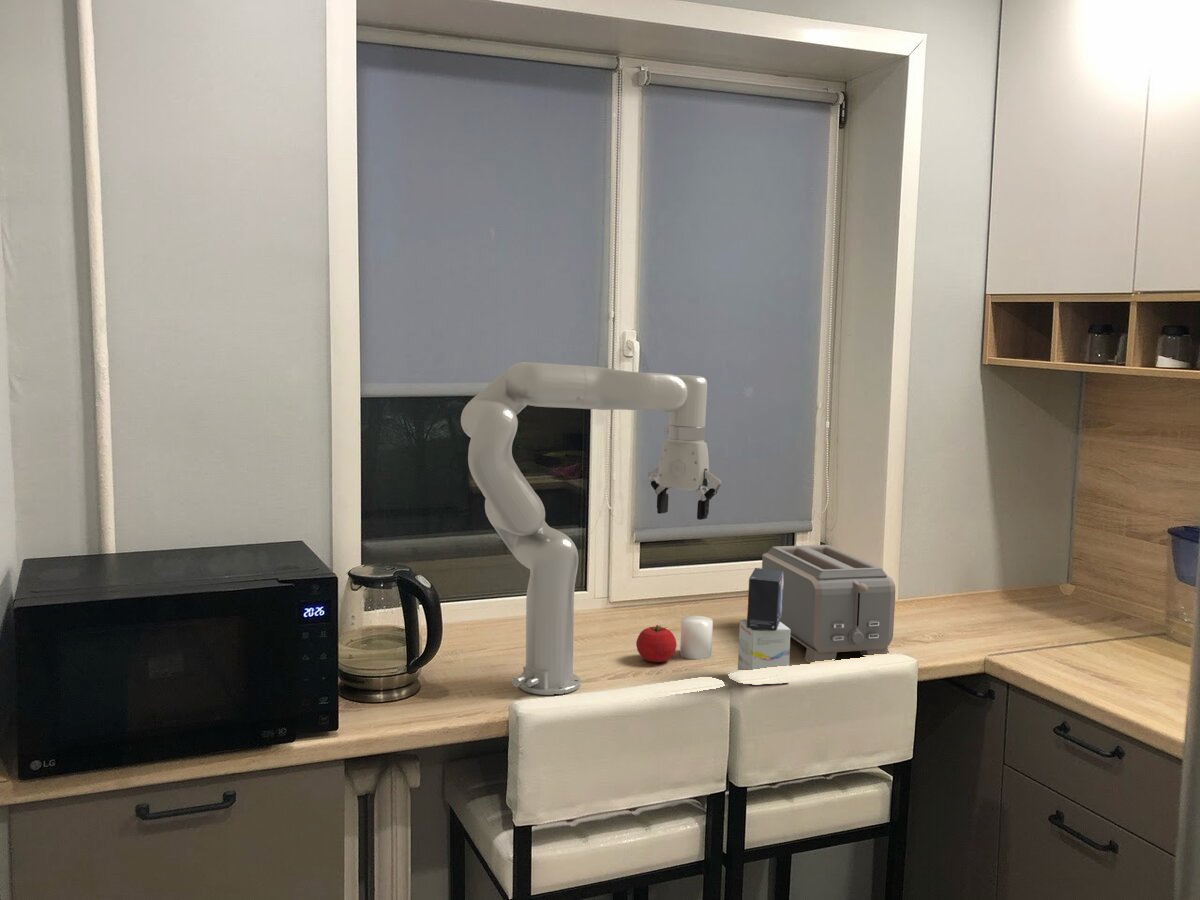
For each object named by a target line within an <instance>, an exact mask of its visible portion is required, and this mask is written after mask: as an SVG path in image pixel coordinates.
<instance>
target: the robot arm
mask: <svg viewBox="0 0 1200 900" xmlns="http://www.w3.org/2000/svg"><path fill="white" fill-rule="evenodd" d="M707 397H708V381H707V379H706V378H705V377H704V376H701V375H689V374H688V375H687V374H681V375H680V374H678V375H675V374H672V373H661V372H640V371H639V372H638V371H637V372H636V371H629V370H628V371H626V370H619V369H615V368H609V367H603V366H596V365H595V366H592V365H576V364H575V365H574V364H561V363H545V362H529V361H521V362H517V363H515V364H513V365H512V366H510V367H509V368H507V369H506V370H505V371H504V372H502V373H501V374H500V375H498V377H497V378H495V380H493V381H492V382H491V383H490V384H488V385H487V386H486V387H484V388H483V389H482V390H481V391H480V392H479V393H478V394H477V395H475V396H474V397H472V399H470V401H468V402H467V404H466V405H465V406H464V407H463V409H462V412H461V416H460V425H461V428H462V430H463V432H464V433H465V434H466V436H468V437H469V438H470V440H469V444H468V453H467V455H468V456H467V462H468V463H467V464H468V468H469V472H470V474H471V477H472V478H473V481H474V482H475V484H476V486H477V488H478V489H479V490H480V492H481V494H482V495H483V496H484V498H485V500H484V509H485V510H484V511H485V515H486V518H488V521H489V523H490V524H491V526H492V527H493V528H494V530H495V532H496V533H497V534H498V535H499V537H500V538H501V540H502V541H503V543H504V544H505V546H506V547H507V548H508V550H509V551H510V552H511V554H512V555H513V557H514V558H515V559H516V560H517V561H518V562H519V563H520V564H521V565H522V566H524V567H525V568H527V569H529V572H530V573H529V578H528V583H527V590H526V600H525V601H526V602H525V603H526V605H525V608H526V609H525V610H526V611H525V614H526V615H525V618H526V619H525V665H524V666H523V672H521V674H519V675H516V676H515V677H513V678H512V679H511V684H512V686H514V687H515V688H520V689H521V690H522V691H524V692H527V693H530V694H534V695H541V696H542V695H543V696H555V695H554V694H559V695H565V694H568V693H572V692H575V691H576V690H577V689H579V688H580V686H581V678H580V677H579V676H578V675H577V674H575V673H574V634H575V633H574V629H575V628H574V627H575V623H574V622H575V621H574V620H575V618H574V617H575V588H576V586H575V585H576V579H577V574H578V567H579V553H578V552H579V551H578V549H577V546H576V544H575V543H574V541H573V540H572V538H571V537H569V535H567V534H565V533H564V532H562V531H560V530H558V529H556V528H553V527H550V526H549V525H548V523H547V522H546V510H545V506H544V504H543V501H542V500H541V498H540V497H539V495H538V494H537V492H535V490H534V489H533V487H532V486H531V485H530V483H529V482H528V480H527V479H526V478H525V476H524V474H523V473H522V472H521V470H520V468H519V466H518V465H517V463H516V462H515V459H514V457H513V453H512V452H513V450H512V449H513V444H514V443H513V442H514V439H515V437H516V435H517V434H516V433H517V431H518V423H519V421H518V417H517V415H518V414H520V413H521V411H522V410H523V409H525V408H526V407H527V406H532V407H541V408H542V407H543V408H563V409H564V408H565V409H567V408H568V409H580V410H581V409H583V410H600V411H601V410H602V411H609V410H612V411H613V410H623V411H625V410H626V411H641V412H643V411H644V412H660V413H661V412H664V413H669V414H668V415H669V417H668V419H669V420H668V426H667V427H664V429H663V433H664V434H667V438H668V439H664V442H663V445H662V448H661V453H660V457H659V458H660V459H659V465H658V467H657V468H654V469H652V470H650V471H649V472H647V476H648V479H649V481H650V486H651V487H652V488H653V490H654V494H655V495H657V497H656V498H657V499H656V509H657V510H656V512H657V514H660V515H661V514H666V513H668V512H669V494H668V493H667V492H668V490H670V489H674V490H675V489H676V490H682V491H691V492H692V491H695V493H696V494H697V496H698V497H699V499H700V500H697V509H696V510H697V512H696V513H697V514H696V519H697V520H699V521H700V520H705V519H708V515H709V513H710V501H711V500H712V499H713V497H714V496H715V495H717V493H718V490H720V487H721V486H722V483H723V482H722V481H723V480H721V479H720V478H719V477H717V476H716V475H715V474H713V473H711V472H710V462H709V461H710V460H709V450H708V444H707V442H705V434H706V433H705V432H706V419H707V417H706V416H707V415H706V414H707V401H708V400H707ZM709 482H710V483H711V486H710V488H709V489H708V486H709ZM564 693H565V694H564Z"/></svg>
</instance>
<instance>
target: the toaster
mask: <svg viewBox="0 0 1200 900" xmlns="http://www.w3.org/2000/svg"><path fill="white" fill-rule="evenodd" d="M761 562H762V563H761V569H769V570H778V571H784V572H783V601H782V616H781V620H780V622H781V623H783V624H784V625H785V626H787V627H788V628H789V629H791V632H790V638H792V639H793V640H795V641H796V642H798V643H799V644H800V645H802V646H803V647H804V648H806V651H805V657H804V660H805V661H807V660H808V661H809V662H808V661H807V662H808V663H810V662H815V661H824V660H832V659H836V658H837V653H844V652H845V653H846V652H858V651H859V652H860V655H861V656H862V655H874V654H887V653H890V651H889V647H888V646H889V645H890V644H892V641H893V639H894V626H895V625H894V624H895V607H896V584H895V581H894V579H892V578H891V576H889V575H888V574H887V573H886V572H885V571H884V569H883V567H881V566H879V565H876V564H873V563H871V562H869V561H868V560H867V561H866V560H864V559H862V558H859V557H857V556H855V555H852V554H850V553H848V552H845V551H843V550H840V549H838V548H837V547H834V546H832V545H829V544H814V545H811V544H810V545H783V546H781V545H780V546H778V545H777V546H776V545H775V546H772V547H771V548H770V549H769V550H768V551H767V552H765V553H763V554H762V561H761ZM836 660H837V659H836Z"/></svg>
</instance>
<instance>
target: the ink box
mask: <svg viewBox="0 0 1200 900" xmlns="http://www.w3.org/2000/svg"><path fill="white" fill-rule="evenodd" d="M746 626H747V619H739V634H738V651H737V652H738V653H737V655H738V656H737V671H738V670H753V669H760V668H767V667H777V666H787V665H789V666H790V656H791V655H790V654H791V653H790V652H791V651H790V649H791V637H790V632H791V629H789V628H788V627H787V626H785V625H784V624H783V623H781V622H779V625H778V627H777V630H776V631H773V630H764V629H754V628H746Z"/></svg>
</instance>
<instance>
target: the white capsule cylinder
mask: <svg viewBox="0 0 1200 900" xmlns="http://www.w3.org/2000/svg"><path fill="white" fill-rule="evenodd" d="M713 620H714V619H712V618H711V617H708V616H704V615H685V616H683V617H681V619H680V642H679V644H680V647H679V648H680V649H679V650H680V651H679V652H680V653H679V655H680V656H681V657H682V658H685V659H687V660H696V661H699V660H700V661H701V660H702V659H703V660H708V659H711V658H712V655H713V653H712V652H713V625H714V624H713V623H714V621H713Z"/></svg>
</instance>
